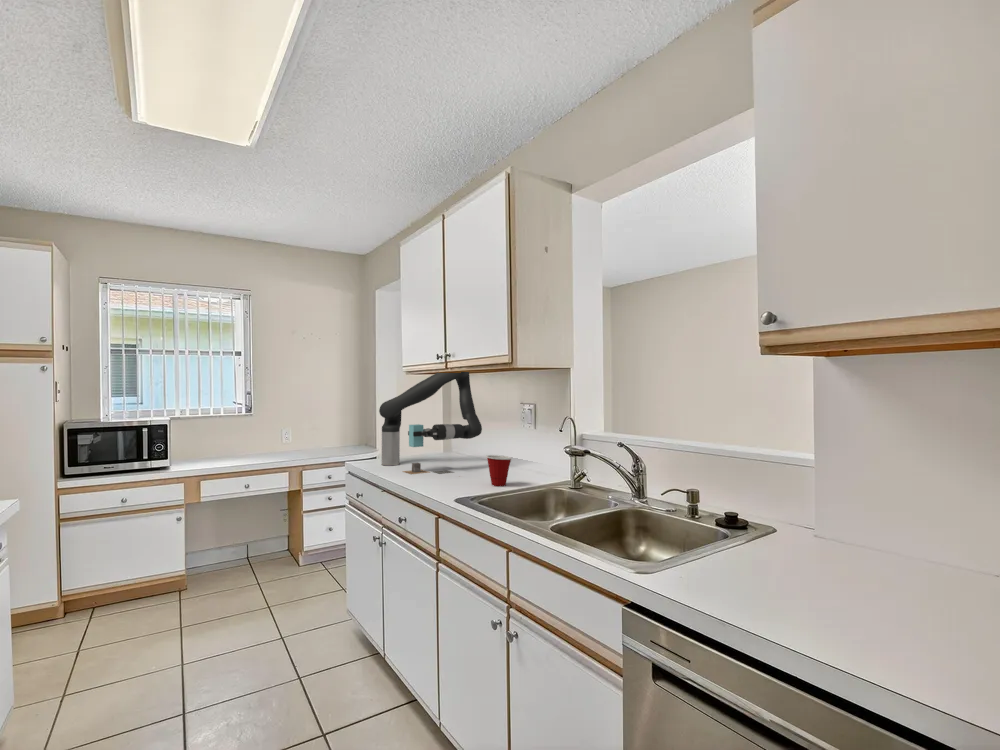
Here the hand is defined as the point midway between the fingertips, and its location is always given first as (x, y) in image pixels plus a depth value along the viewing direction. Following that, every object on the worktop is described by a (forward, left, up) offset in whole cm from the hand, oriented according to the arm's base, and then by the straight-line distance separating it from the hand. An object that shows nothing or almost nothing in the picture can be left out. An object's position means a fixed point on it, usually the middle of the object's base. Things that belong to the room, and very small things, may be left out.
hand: (411, 433), depth 241 cm
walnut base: (0, +3, -19) cm, 19 cm away
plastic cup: (+45, +19, -19) cm, 52 cm away
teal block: (0, +3, -6) cm, 7 cm away
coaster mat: (+7, +13, -19) cm, 24 cm away
